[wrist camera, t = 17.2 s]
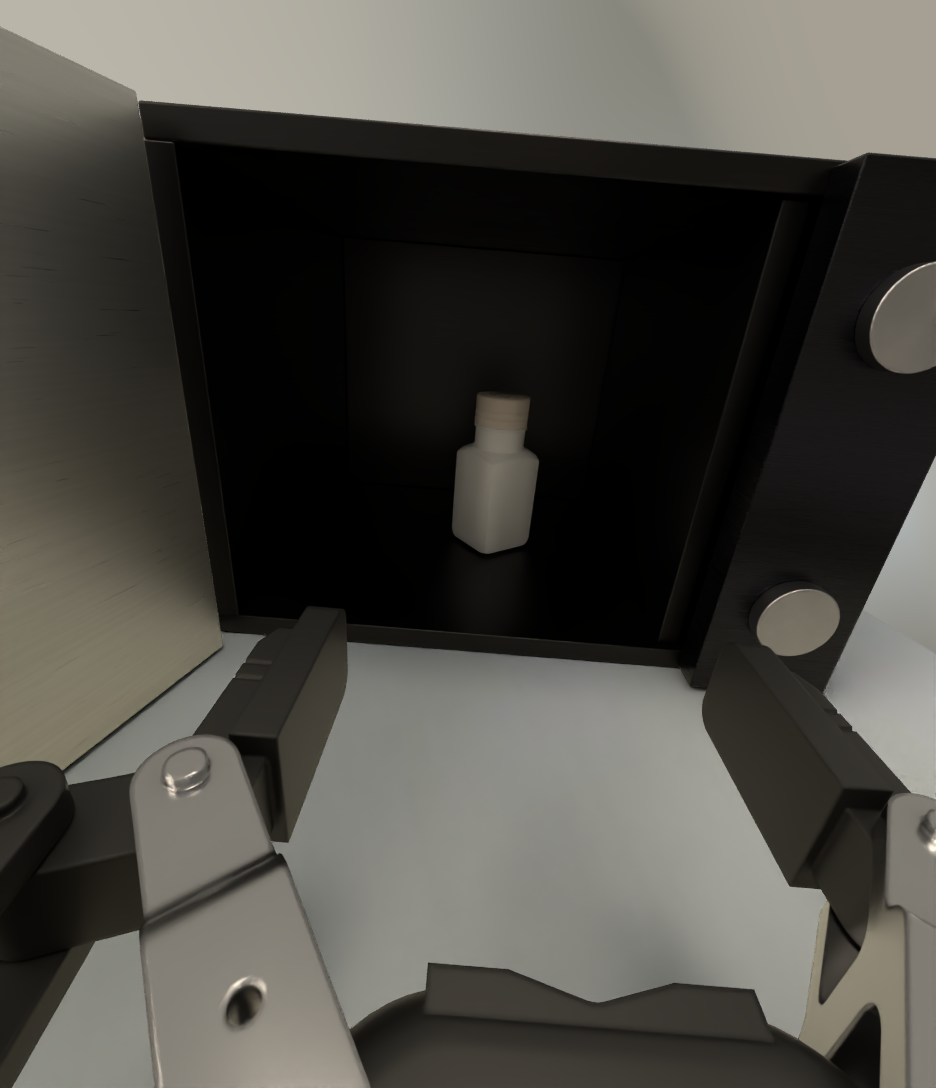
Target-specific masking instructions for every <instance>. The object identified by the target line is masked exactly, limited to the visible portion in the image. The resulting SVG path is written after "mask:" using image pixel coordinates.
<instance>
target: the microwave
mask: <svg viewBox="0 0 936 1088" xmlns="http://www.w3.org/2000/svg"><path fill="white" fill-rule="evenodd" d="M139 109H140V116H141V122H142V129H143V135H144V138H145V139H146V140H144V145H145V152H146V158H147V164H148V171H149V177H150V183H151V190H152V196H153V203H154V209H155V215H156V222H157V228H158V234H159V241H160V247H161V254H162V260H163V266H164V273H165V279H166V285H167V292H168V298H169V305H170V311H171V317H172V324H173V330H174V336H175V343H176V349H177V356H178V362H179V368H180V375H181V381H182V387H183V394H184V400H185V407H186V413H187V419H188V426H189V432H190V438H191V445H192V451H193V458H194V464H195V470H196V477H197V483H198V489H199V496H200V502H201V509H202V515H203V521H204V528H205V534H206V540H207V547H208V553H209V560H210V566H211V572H212V579H213V585H214V591H215V598H216V604H217V611H218V613H219V614H218V616H219V622H220V629H221V631H230V632H242V633H255V634H267V635H269V634H270V633H272V632H273V631H275V630H276V629H278V628H289V629H293V628H294V626H295V625H296V623H297V621H298V620H299V618H300V617H301V615H302V613H303V612H304V610H305V609H306V608H307V607H308V606H315V607H326V608H338V609H344V610H345V613H346V627H347V641H354V642H366V643H379V644H391V645H404V646H416V647H428V648H441V649H453V650H466V651H478V652H491V653H503V654H515V655H528V656H540V657H553V658H565V659H577V660H590V661H602V662H615V663H627V664H639V665H652V666H664V667H677V668H680V669H681V671H682V672H683V674H684V676H685V678H686V680H687V681H688V683H689V685H690V686H692V687H705V688H707V687H708V685H709V682H710V679H711V676H712V673H713V670H714V667H715V665H716V662H717V659H718V656H719V653H720V651H721V649H722V647H723V646H724V645H725V644H726V643H742V644H754V645H765V646H768V647H769V648H771V649H772V650H773V651H774V653H775V654H776V655H777V656H778V657H779V658H780V660H781V661H782V662H783V663H784V664H785V665H786V667H787V668H788V669H789V670H790V671H791V672H794V673H796V674H797V675H799V676H800V677H801V678H803V679H804V680H806V681H807V682H808V683H810V684H811V685H813V686H814V687H815V688H817V689H818V690H819V691H820V692H821V693H822V694H823V692H824V690H825V687H826V685H827V683H828V681H829V679H830V677H831V675H832V673H833V671H834V669H835V666H836V664H837V662H838V660H839V658H840V656H841V654H842V652H843V650H844V648H845V645H846V643H847V641H848V639H849V637H850V635H851V633H852V631H853V629H854V626H855V624H856V622H857V620H858V618H859V616H860V614H861V612H862V610H863V608H864V605H865V603H866V601H867V599H868V597H869V595H870V593H871V591H872V589H873V586H874V584H875V582H876V580H877V578H878V576H879V574H880V572H881V570H882V568H883V566H884V563H885V561H886V559H887V557H888V555H889V553H890V551H891V549H892V547H893V545H894V542H895V540H896V538H897V536H898V534H899V532H900V530H901V528H902V526H903V523H904V521H905V519H906V517H907V515H908V513H909V511H910V508H911V507H912V505H913V502H914V500H915V498H916V496H917V494H918V492H919V490H920V488H921V486H922V484H923V481H924V479H925V477H926V475H927V473H928V471H929V469H930V467H931V464H932V463H933V460H934V458H935V456H936V158H926V157H914V156H902V155H891V154H879V153H866V154H863V155H861V156H859V157H856V158H854V159H852V160H849V161H845V160H832V159H821V158H809V157H797V156H785V155H774V154H762V153H751V152H739V151H726V150H715V149H704V148H691V147H680V146H668V145H657V144H645V143H633V142H632V143H631V142H621V141H610V140H597V139H586V138H574V137H563V136H551V135H538V134H526V133H516V132H504V131H492V130H480V129H468V128H457V127H445V126H433V125H422V124H410V123H398V122H386V121H375V120H362V119H351V118H340V117H327V116H316V115H303V114H293V113H281V112H269V111H257V110H246V109H234V108H222V107H211V106H198V105H187V104H186V105H185V104H174V103H164V102H152V101H139ZM483 391H501V392H511V393H517V394H523V395H526V396H528V397H530V405H529V411H528V412H529V413H528V421H527V430H526V431H525V438H524V448H526V449H528V450H529V451H531V452H532V453H534V454H535V455H536V456H537V458H538V460H539V466H538V473H537V480H536V487H535V494H534V501H533V509H532V516H531V523H530V530H529V537H528V540H527V542H526V543H525V544H524V545H522V546H518V547H514V548H510V549H506V550H502V551H498V552H494V553H490V554H485V553H480V552H479V551H477V550H476V549H474V548H472V547H471V546H469V545H468V544H466V543H465V542H463V541H462V540H460V539H459V538H457V537H456V536H455V535H454V534H453V531H452V517H453V502H454V488H455V473H456V458H457V451H458V450H459V449H460V448H462V447H463V446H465V445H468V444H471V443H474V442H475V432H476V426H475V416H476V414H475V412H476V408H477V407H476V400H477V394H478V393H479V392H483Z"/></svg>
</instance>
